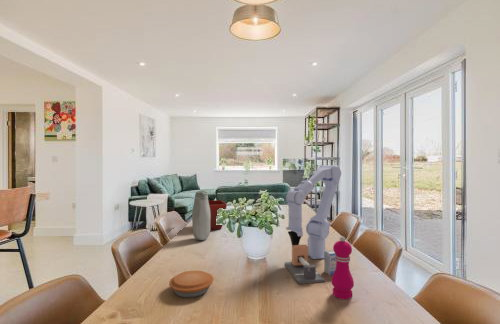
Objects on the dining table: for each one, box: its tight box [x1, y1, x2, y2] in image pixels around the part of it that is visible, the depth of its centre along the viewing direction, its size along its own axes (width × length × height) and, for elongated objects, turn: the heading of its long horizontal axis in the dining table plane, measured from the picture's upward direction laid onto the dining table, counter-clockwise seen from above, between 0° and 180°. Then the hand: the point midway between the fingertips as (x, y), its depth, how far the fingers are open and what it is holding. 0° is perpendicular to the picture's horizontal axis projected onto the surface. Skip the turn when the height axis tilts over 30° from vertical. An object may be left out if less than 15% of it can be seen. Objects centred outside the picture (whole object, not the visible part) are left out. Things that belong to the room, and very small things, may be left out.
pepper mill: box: [331, 236, 355, 300], centre depth 95 cm, size 7×7×20 cm
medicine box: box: [323, 249, 336, 277], centre depth 114 cm, size 8×4×9 cm, turn 105°
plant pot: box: [208, 199, 228, 231], centre depth 187 cm, size 19×19×17 cm
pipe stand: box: [284, 256, 325, 285], centre depth 114 cm, size 19×10×6 cm, turn 8°
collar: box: [291, 244, 309, 266], centre depth 118 cm, size 3×6×8 cm, turn 99°
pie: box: [168, 270, 214, 299], centre depth 100 cm, size 16×16×5 cm
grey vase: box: [191, 190, 211, 241], centre depth 160 cm, size 10×10×28 cm
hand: (295, 248), depth 125 cm, fingers closed
